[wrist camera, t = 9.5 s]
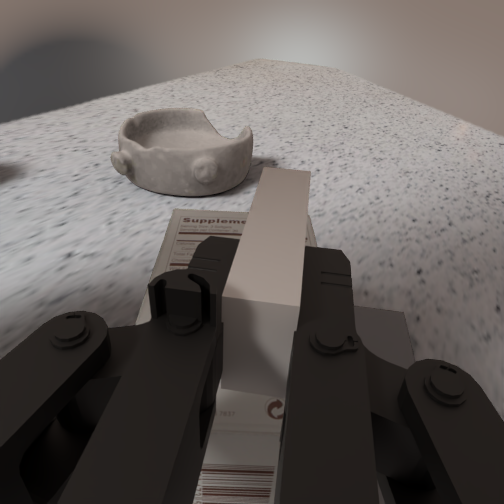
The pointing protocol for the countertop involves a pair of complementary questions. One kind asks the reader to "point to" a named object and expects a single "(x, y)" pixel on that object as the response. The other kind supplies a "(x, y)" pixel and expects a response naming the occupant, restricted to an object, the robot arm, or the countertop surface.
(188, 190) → the dish
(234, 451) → the supplement box
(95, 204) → the countertop surface
